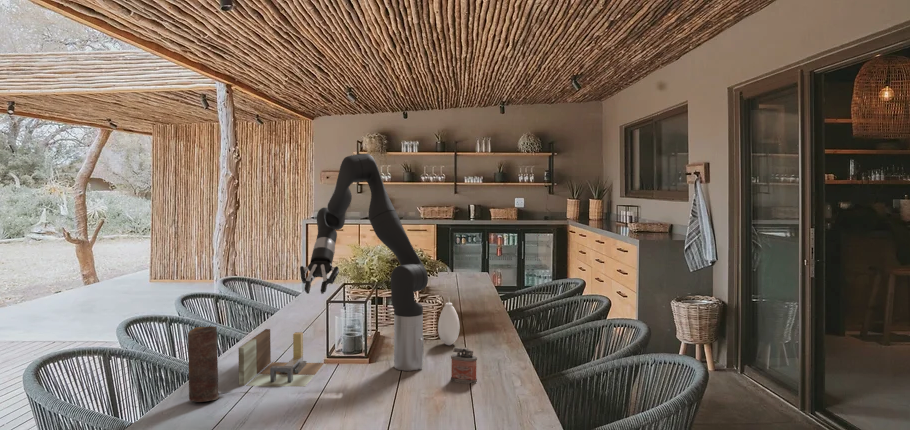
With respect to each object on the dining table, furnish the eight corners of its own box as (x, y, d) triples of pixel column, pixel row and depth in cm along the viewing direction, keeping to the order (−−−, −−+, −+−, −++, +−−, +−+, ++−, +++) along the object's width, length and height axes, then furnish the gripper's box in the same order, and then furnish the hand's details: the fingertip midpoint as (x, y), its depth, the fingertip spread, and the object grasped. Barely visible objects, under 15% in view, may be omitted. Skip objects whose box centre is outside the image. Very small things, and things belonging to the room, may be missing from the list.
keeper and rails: (307, 364, 185) (307, 351, 185) (290, 382, 168) (290, 368, 168) (288, 364, 185) (288, 351, 185) (270, 382, 169) (270, 368, 168)
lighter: (478, 380, 174) (478, 347, 174) (475, 384, 171) (475, 350, 171) (452, 377, 177) (453, 345, 177) (449, 381, 174) (449, 348, 173)
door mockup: (324, 366, 187) (324, 329, 187) (305, 390, 165) (304, 348, 165) (266, 365, 188) (265, 329, 187) (239, 389, 166) (238, 348, 165)
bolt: (303, 362, 187) (302, 332, 186) (292, 373, 176) (292, 341, 175) (295, 362, 187) (295, 332, 186) (284, 373, 176) (284, 341, 175)
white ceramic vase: (435, 346, 212) (435, 297, 211) (442, 340, 219) (442, 293, 218) (455, 348, 209) (455, 298, 208) (462, 342, 217) (462, 294, 216)
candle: (207, 407, 152) (206, 331, 152) (182, 405, 154) (181, 330, 153) (224, 397, 160) (223, 325, 159) (200, 394, 161) (199, 323, 160)
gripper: (301, 246, 206) (291, 285, 195) (341, 246, 206) (333, 286, 194) (305, 259, 212) (296, 298, 200) (344, 259, 211) (337, 298, 200)
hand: (314, 292), depth 197 cm, fingers open, 4 cm apart
